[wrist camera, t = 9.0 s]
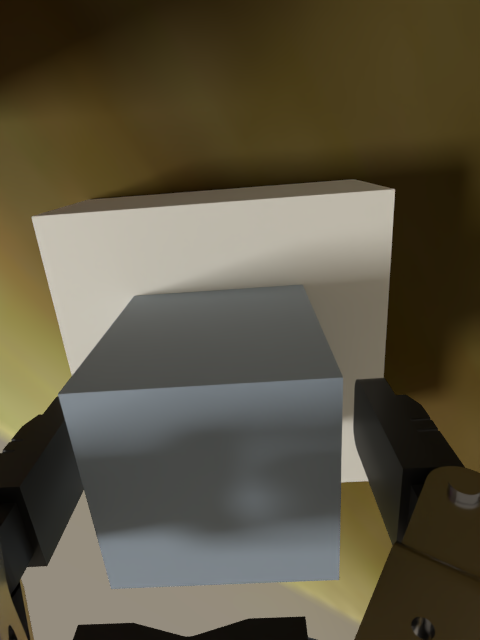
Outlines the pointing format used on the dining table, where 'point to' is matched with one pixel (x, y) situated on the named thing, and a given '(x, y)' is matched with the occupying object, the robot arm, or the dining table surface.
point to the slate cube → (211, 440)
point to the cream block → (232, 263)
